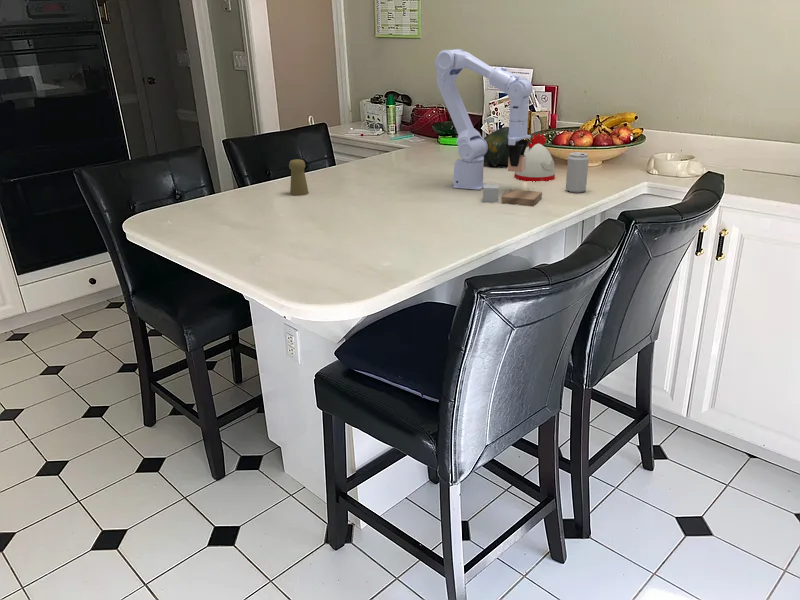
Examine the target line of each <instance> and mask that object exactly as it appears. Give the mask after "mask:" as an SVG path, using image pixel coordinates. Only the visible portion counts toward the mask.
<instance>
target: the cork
mask: <svg viewBox="0 0 800 600" xmlns="http://www.w3.org/2000/svg"><path fill="white" fill-rule="evenodd" d="M288 168H289V169H290V170H291V171H290V188H289V190H290V191H289V195H290V196H293V197H294V196H295V197H297V196H299V197H300V196H306V195H308V194H309V193H310V192H309V187H308V182H307V179H306V174H305V168H306V162H305V161H304V160H303V159H298V158H297V159H291V160H290V161H289V164H288Z"/></svg>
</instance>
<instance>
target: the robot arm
mask: <svg viewBox="0 0 800 600" xmlns="http://www.w3.org/2000/svg"><path fill="white" fill-rule="evenodd" d="M433 65H434V67H435V69H436V84H437V87H438V90H439V92H440V95H441V97H442V99H443V102H444V104H445V106H446V109H447V111H448V114H449V115H450V118H451V121H452V124H453V125H454V128H455V130H456V133H457V138H456V144H457V148H458V149H457V152H458V156H459V157H460V159H456V160H455V161H454V165H453V186H452V188H453V189H463V190H464V189H466V190H475V191H479V190H483V187H484V185H488V184H487V183H485V182H484V166H485V163H484V155H485V154H486V152H487V149H488V145H487V142H486V141H485V140H484V138H483V137H482V135H481V132H480V131H478V130H477V129H476V128H474V125H473V123H472V121H471V118H470V116H469V114H468V111H467V109H466V107H465V103H464V101H463V99H462V96H461V94H460V92H459V90H458V87H457V84H456V81H457V79H458V76H459V75H460V73H461V72H462V71H463V69H468V70H470V71H473V72H475V73H476V74H478V75H481V76H483V77H485V78H486V79H488V82H489V84H490V85H491V86H492V87H494V88H496V89H498V90H499V91H501V92H503V93H505V94H507V96H508V98H509V114H508V115H509V120H508V127H509V135H508V139H509V140H508V143H505V147H506V149H507V151H508V154H509V159H510V165H511V166H515V167H517V166H518V164H519V159H520V155H524V153H525V150H526V148H527V147H528V143H529V142H530V139H531V138H532V135H531V134H528V129H529V128H528V127H529V126H528V125H529V124H528V123H529V106H530V105H529V104H530V96H532V93H533V84H532V82H531V81H530V80H529V79H528V78H525V77H524V78H520V75H518V74H513V73H511V72H510V71H508V70H507V69H508V68H507V67H505V66H502V67H500V66H498V67H495V68H494V67H492V66H490V65H489V64H487V63H486V62H484V61H482V60H480V59H479V58H477V57H476V56H474V55H473V54H471V52H469V51H465V50H463V49H461V48H455V49H443V50H440V51H439V53H438V54H437V56H436V58H435V61H434V64H433Z"/></svg>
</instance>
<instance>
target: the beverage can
mask: <svg viewBox="0 0 800 600" xmlns="http://www.w3.org/2000/svg"><path fill="white" fill-rule="evenodd" d="M589 160H590V158H589V154H588V153H586V152H581V151H580V152H579V151H576V152H570V153H569V156H567V168H566V179H565V190H566V191H567V192H568V191H569V192H568V193H572V192H573V193H572V194H576V193H577V194H579V193H584V192H585V191H586V190H587V184H588V183H587V182H588V173H589V171H588V170H589V162H590V161H589Z"/></svg>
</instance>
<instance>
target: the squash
mask: <svg viewBox="0 0 800 600" xmlns="http://www.w3.org/2000/svg"><path fill="white" fill-rule="evenodd" d="M508 135H509V126H503V127H500V128H499V129H498V128H497V129H496V130H494V131H493V132H491V133H489V134H487V135H486V136H484V138H483V139H484V140H485V141H486V142H487V145H488V149H487V152H486V154H485V155H484V165H486V166H489V167H492V166H494V167H498V165H502V166H503V165H504V166H508V158H509V154H508V151H507V149H506V147H505V143H508V140H509V139H508Z"/></svg>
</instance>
